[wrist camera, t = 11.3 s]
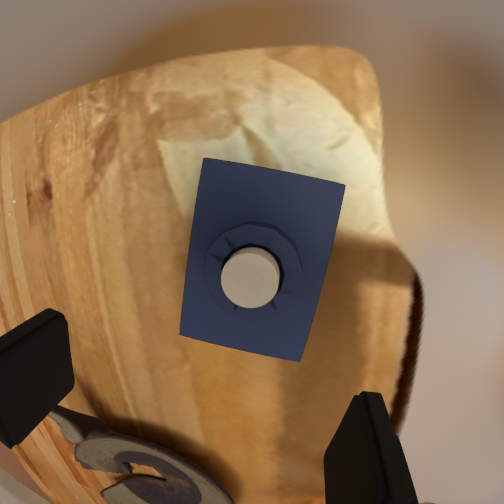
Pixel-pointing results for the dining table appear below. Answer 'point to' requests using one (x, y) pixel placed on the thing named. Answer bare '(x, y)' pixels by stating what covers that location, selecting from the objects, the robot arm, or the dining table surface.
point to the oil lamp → (141, 452)
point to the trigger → (250, 277)
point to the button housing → (264, 237)
